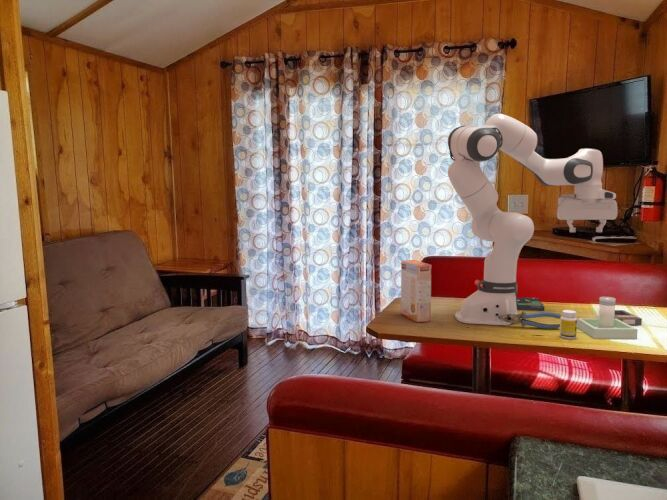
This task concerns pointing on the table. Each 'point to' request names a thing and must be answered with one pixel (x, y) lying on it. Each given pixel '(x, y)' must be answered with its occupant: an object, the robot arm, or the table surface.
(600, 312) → the fuse
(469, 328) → the table surface
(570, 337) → the supplement bottle
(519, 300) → the disk drive
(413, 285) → the cracker box
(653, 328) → the table surface
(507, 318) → the pliers
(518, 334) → the table surface
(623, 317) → the dark grey tray
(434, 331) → the table surface
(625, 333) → the tray
